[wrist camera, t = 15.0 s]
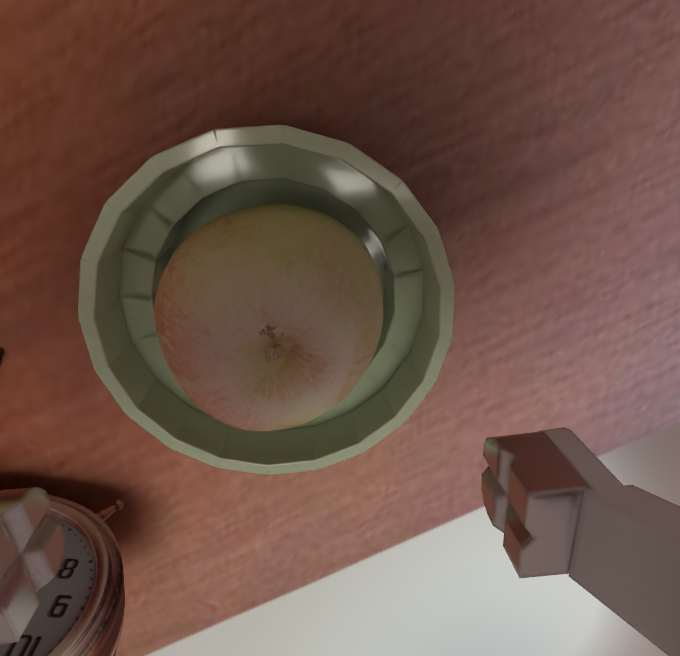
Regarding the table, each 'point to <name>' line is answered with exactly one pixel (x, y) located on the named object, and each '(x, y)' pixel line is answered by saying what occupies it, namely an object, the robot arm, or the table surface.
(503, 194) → the table surface
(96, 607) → the alarm clock
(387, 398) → the bowl
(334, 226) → the fruit
